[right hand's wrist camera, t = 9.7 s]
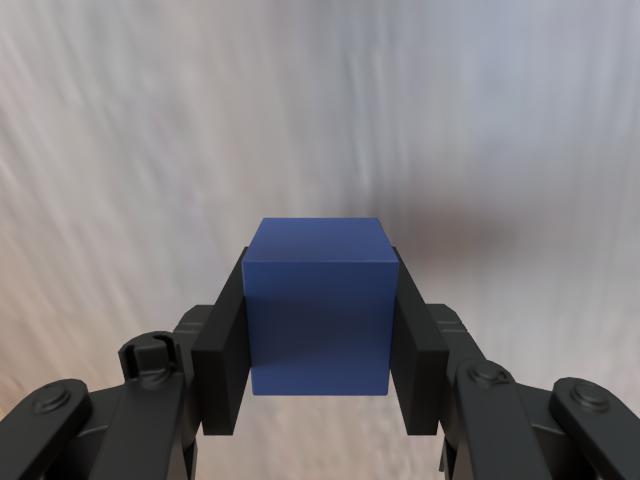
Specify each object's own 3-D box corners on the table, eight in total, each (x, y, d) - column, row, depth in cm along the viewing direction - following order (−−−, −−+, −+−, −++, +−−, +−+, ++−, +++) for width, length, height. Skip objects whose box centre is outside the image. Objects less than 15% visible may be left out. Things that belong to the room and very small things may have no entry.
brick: (262, 217, 14) (240, 260, 10) (377, 217, 14) (400, 260, 10) (269, 324, 16) (252, 396, 12) (371, 324, 16) (388, 396, 12)
